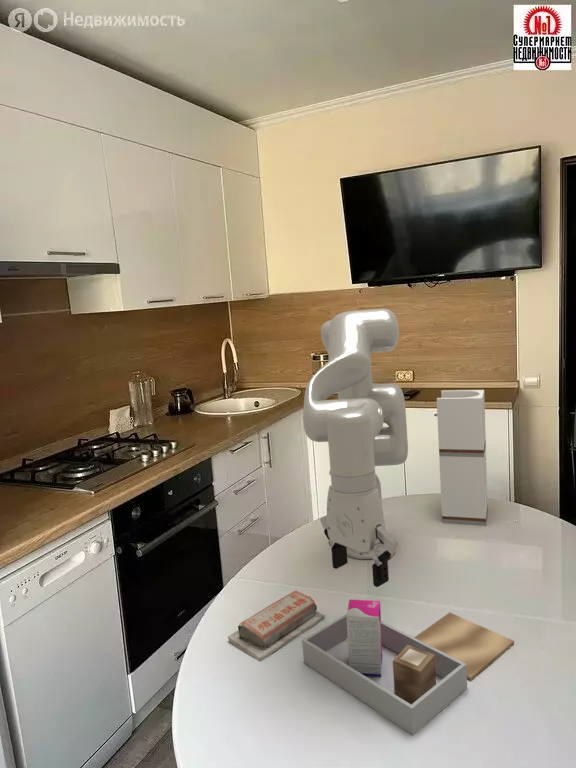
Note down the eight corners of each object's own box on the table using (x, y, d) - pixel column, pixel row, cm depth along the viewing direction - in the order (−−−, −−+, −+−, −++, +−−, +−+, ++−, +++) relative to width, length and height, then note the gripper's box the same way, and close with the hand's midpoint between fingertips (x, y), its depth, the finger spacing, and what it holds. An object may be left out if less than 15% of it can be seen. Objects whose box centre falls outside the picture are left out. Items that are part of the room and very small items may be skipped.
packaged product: (290, 584, 129) (323, 599, 122) (292, 604, 130) (325, 620, 123) (225, 621, 117) (258, 640, 110) (227, 644, 118) (260, 664, 111)
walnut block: (395, 698, 98) (392, 659, 97) (409, 681, 102) (407, 644, 101) (422, 710, 95) (420, 670, 94) (436, 692, 99) (434, 654, 97)
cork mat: (405, 646, 111) (405, 643, 111) (449, 615, 120) (449, 612, 120) (470, 681, 100) (470, 677, 100) (514, 643, 109) (514, 640, 109)
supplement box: (382, 677, 103) (378, 617, 101) (348, 675, 105) (344, 616, 103) (384, 656, 109) (380, 599, 107) (351, 655, 110) (347, 598, 108)
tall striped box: (487, 510, 168) (484, 389, 162) (485, 525, 159) (481, 398, 152) (446, 508, 173) (441, 390, 166) (442, 523, 163) (436, 398, 157)
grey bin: (303, 662, 109) (301, 640, 108) (357, 628, 118) (355, 607, 117) (413, 734, 90) (411, 708, 89) (467, 688, 99) (466, 664, 98)
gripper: (303, 476, 105) (311, 567, 108) (376, 498, 92) (383, 600, 94) (333, 466, 109) (340, 552, 112) (408, 484, 96) (413, 582, 99)
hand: (360, 574), depth 103 cm, fingers open, 9 cm apart
